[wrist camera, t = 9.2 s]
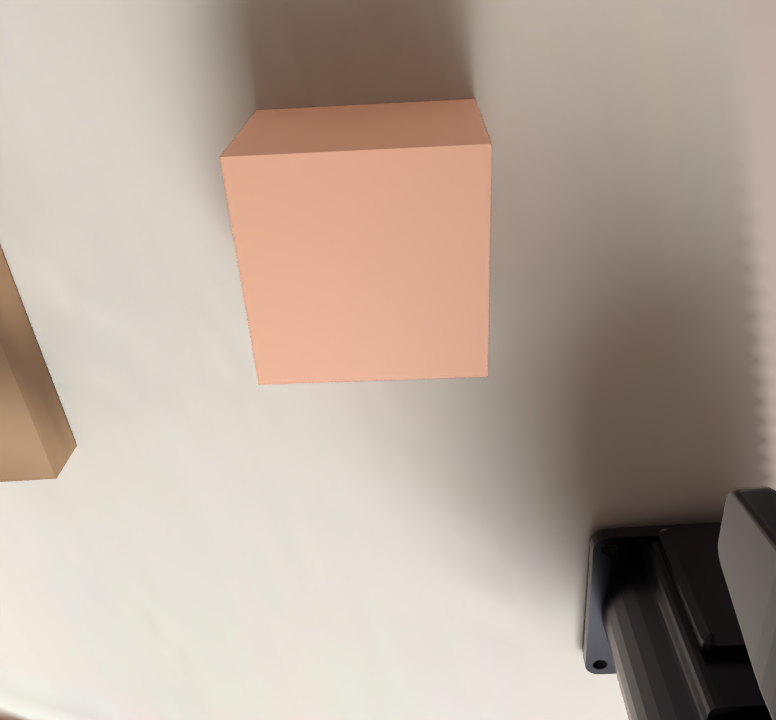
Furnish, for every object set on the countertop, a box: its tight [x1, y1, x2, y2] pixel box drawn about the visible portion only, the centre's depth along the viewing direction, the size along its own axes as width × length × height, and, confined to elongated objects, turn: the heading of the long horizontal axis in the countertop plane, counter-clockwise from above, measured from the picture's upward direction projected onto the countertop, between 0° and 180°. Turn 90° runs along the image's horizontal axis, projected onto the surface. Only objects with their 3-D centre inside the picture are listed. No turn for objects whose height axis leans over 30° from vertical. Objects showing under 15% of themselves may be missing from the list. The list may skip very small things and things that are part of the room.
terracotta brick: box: [220, 99, 492, 385], centre depth 17 cm, size 5×5×4 cm
